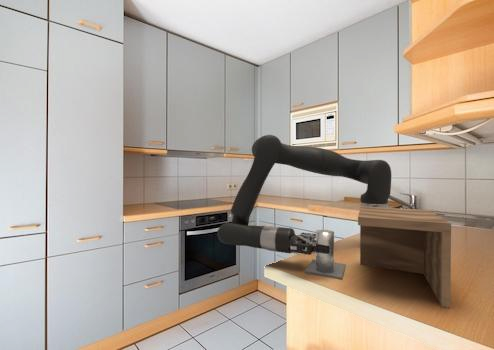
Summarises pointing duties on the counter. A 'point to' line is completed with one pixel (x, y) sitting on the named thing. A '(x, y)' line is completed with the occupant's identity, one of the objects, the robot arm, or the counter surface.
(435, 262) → the walnut desk
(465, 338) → the counter surface
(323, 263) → the steel tin
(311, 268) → the rubber mat
